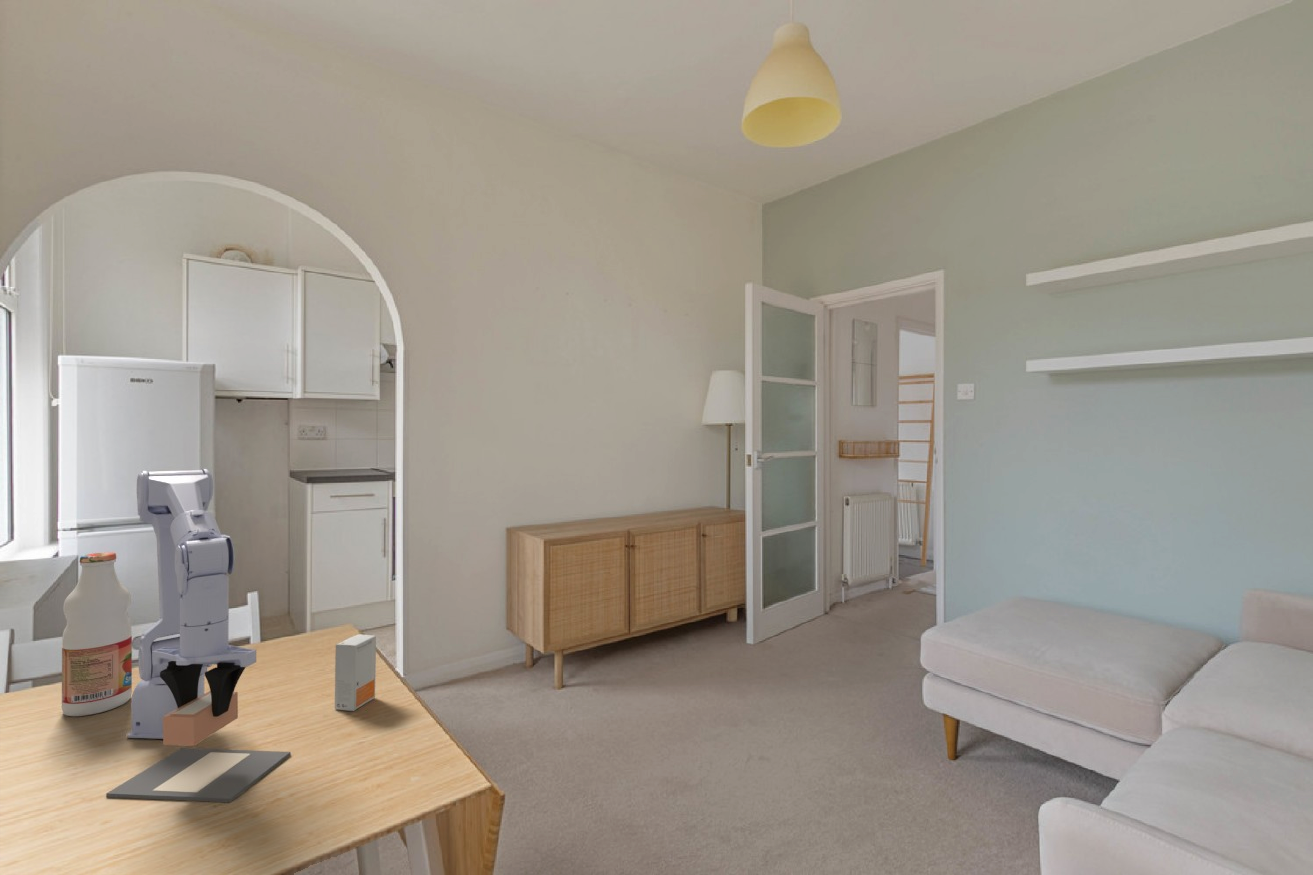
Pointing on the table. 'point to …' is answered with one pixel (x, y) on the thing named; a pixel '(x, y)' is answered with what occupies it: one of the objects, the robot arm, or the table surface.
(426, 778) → the table surface
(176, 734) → the pink box with label
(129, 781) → the charcoal mat
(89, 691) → the fruit juice
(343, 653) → the skincare box
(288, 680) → the table surface
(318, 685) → the table surface
